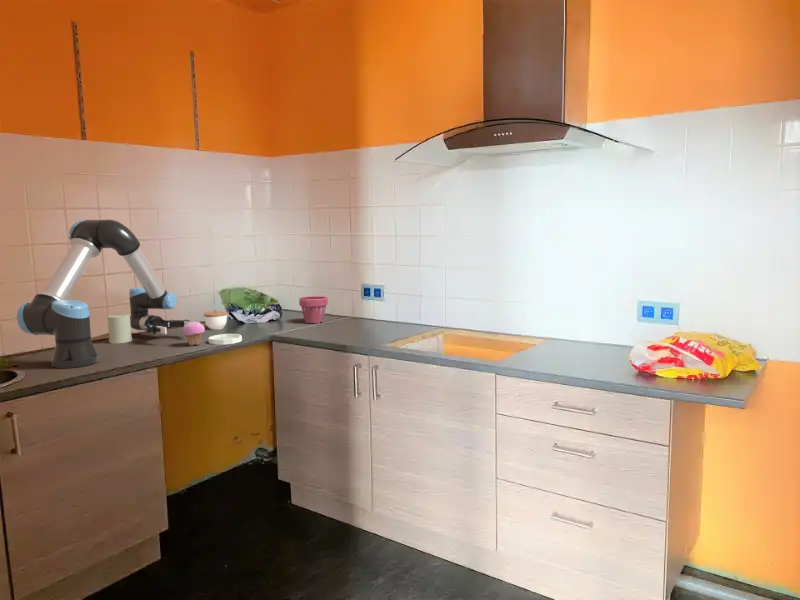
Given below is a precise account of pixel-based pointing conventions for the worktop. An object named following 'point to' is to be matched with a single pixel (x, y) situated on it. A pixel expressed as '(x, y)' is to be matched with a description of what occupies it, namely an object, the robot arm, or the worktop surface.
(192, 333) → the cupcake
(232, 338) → the dish
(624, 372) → the worktop surface
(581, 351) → the worktop surface
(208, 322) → the lidded jar
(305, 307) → the plant pot
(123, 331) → the can
